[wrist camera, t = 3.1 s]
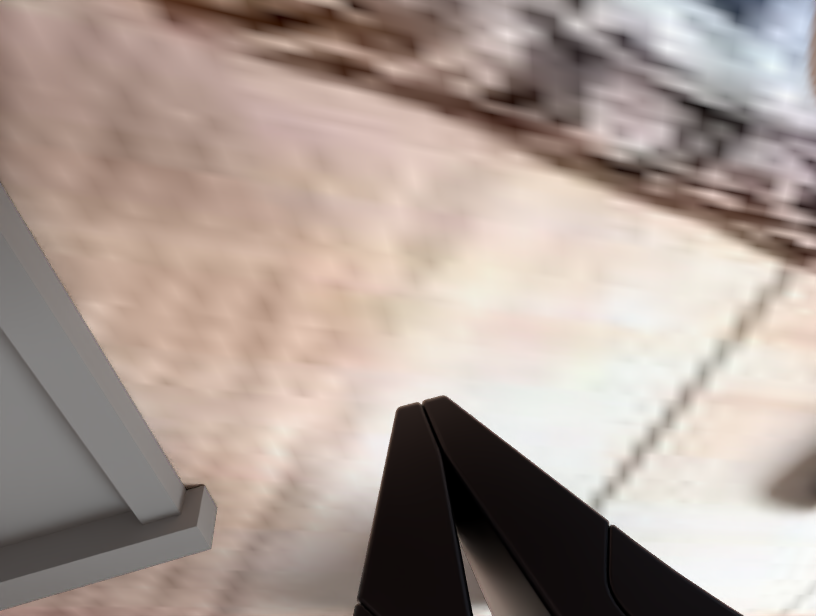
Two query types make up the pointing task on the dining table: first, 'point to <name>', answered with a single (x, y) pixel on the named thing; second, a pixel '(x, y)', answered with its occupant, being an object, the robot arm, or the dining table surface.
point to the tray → (75, 446)
